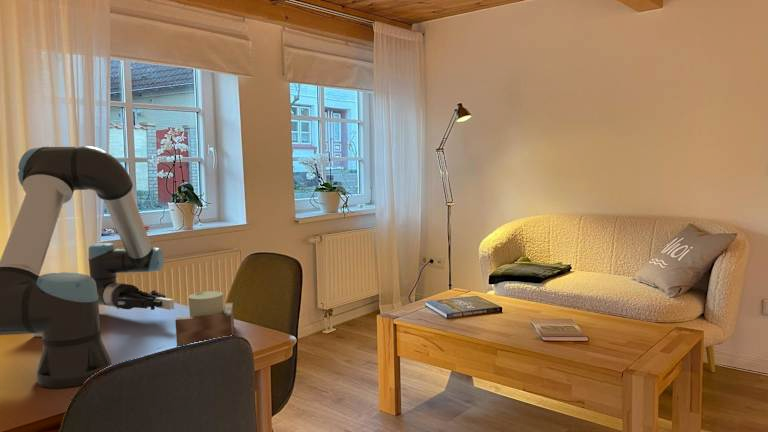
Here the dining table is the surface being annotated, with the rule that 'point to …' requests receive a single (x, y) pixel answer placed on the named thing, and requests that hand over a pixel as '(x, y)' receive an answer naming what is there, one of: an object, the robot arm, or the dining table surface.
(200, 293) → the can
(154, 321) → the dining table surface
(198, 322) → the v stop
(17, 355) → the dining table surface
